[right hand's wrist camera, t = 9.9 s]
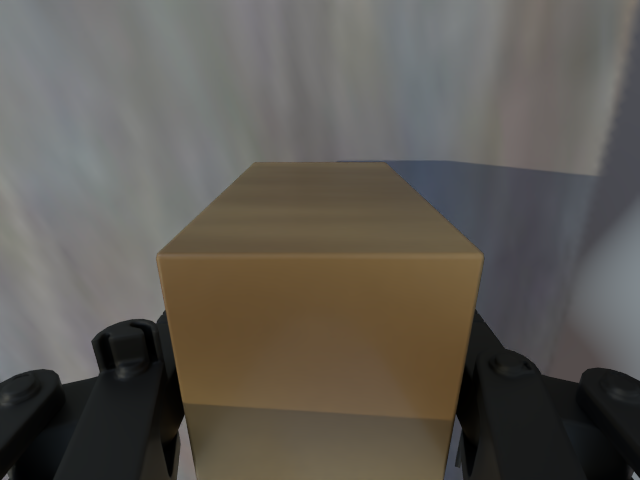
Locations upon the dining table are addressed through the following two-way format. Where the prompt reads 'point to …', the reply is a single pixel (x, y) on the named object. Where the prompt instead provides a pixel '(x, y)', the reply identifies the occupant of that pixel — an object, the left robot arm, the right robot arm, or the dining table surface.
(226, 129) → the dining table surface
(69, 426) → the right robot arm
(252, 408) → the bar
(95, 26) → the dining table surface
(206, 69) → the dining table surface
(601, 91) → the dining table surface
